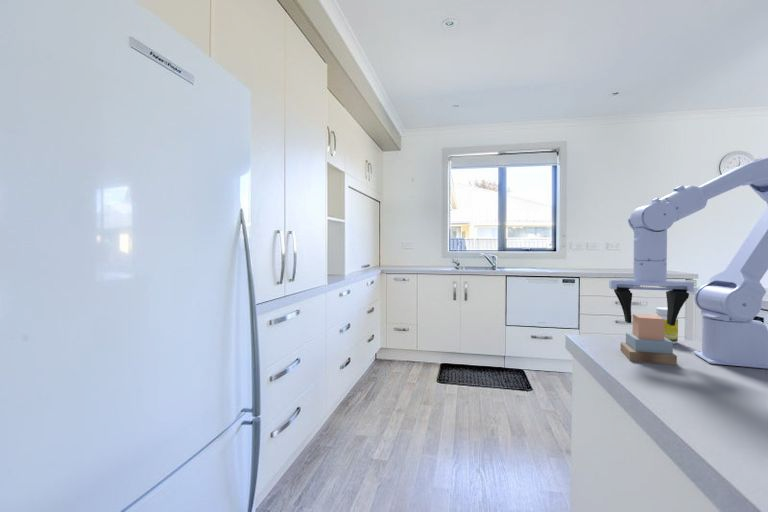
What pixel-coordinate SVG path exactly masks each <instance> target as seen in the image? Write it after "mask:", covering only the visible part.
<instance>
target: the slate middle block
mask: <svg viewBox="0 0 768 512" xmlns="http://www.w3.org/2000/svg"><path fill="white" fill-rule="evenodd" d="M625 343H626V344H627V345H628V346H630V347H631V348H632V349H633V350H635V351H639V352H652V353H665V354H673V353H674V350H673V349H674V344H673V342H672V341H670V340H669V339H667V338H665V337H664V341H663V340H650V339H638V338H637V337H636V336H635V335H633V334H632V332H625Z"/></svg>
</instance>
